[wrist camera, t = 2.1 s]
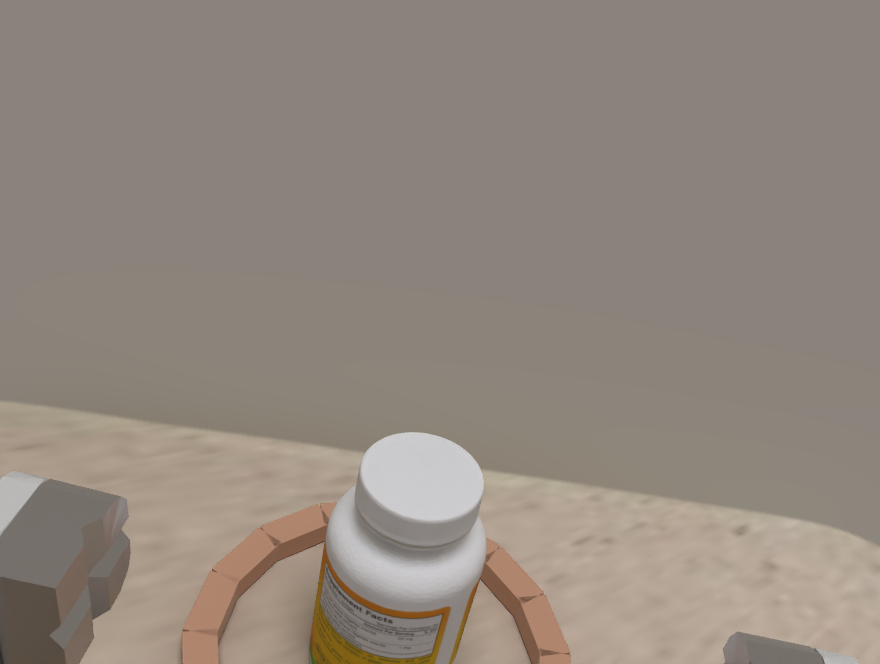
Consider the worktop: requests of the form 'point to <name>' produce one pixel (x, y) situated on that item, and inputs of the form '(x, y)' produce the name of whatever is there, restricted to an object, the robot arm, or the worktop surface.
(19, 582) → the robot arm
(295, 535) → the segmented terracotta ring
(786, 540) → the worktop surface
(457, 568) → the supplement bottle
